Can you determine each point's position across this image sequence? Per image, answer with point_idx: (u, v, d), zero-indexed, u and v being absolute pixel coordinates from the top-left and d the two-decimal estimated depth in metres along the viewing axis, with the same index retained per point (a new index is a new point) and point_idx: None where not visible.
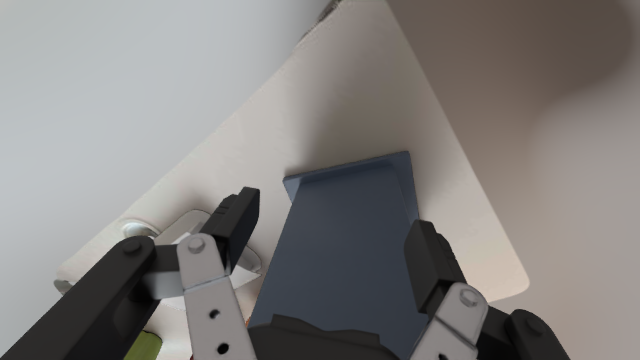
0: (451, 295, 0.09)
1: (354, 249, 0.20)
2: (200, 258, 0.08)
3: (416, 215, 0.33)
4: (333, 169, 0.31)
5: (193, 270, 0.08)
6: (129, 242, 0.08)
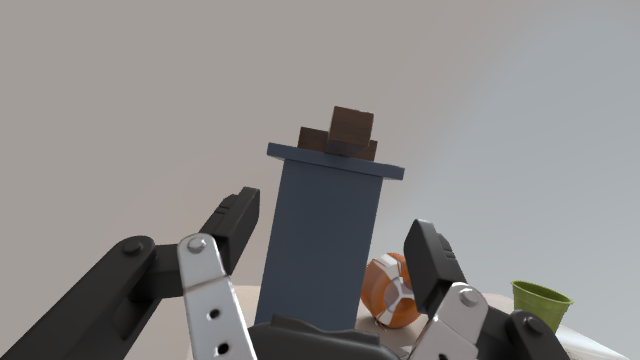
0: (451, 295, 0.09)
1: (297, 302, 0.30)
2: (200, 258, 0.08)
3: None
4: None
5: (193, 270, 0.08)
6: (129, 242, 0.08)
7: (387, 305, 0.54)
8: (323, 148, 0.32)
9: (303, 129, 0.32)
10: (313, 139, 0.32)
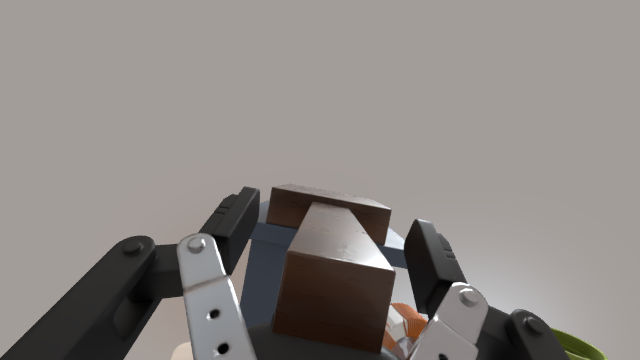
0: (451, 295, 0.09)
1: None
2: (200, 258, 0.08)
3: None
4: None
5: (193, 270, 0.08)
6: (129, 242, 0.08)
7: None
8: None
9: (275, 191, 0.21)
10: (291, 207, 0.21)
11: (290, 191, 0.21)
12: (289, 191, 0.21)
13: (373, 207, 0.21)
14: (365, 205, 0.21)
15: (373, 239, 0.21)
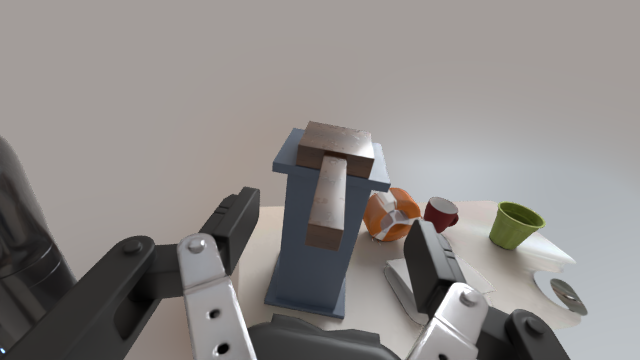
0: (451, 295, 0.09)
1: (306, 258, 0.44)
2: (200, 258, 0.08)
3: (277, 264, 0.57)
4: (309, 310, 0.50)
5: (193, 270, 0.08)
6: (129, 242, 0.08)
7: (382, 227, 0.68)
8: (320, 164, 0.33)
9: (300, 147, 0.32)
10: (311, 156, 0.33)
11: (309, 147, 0.32)
12: (309, 147, 0.32)
13: (363, 157, 0.32)
14: (357, 156, 0.32)
15: (362, 175, 0.33)
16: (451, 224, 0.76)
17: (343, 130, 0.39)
